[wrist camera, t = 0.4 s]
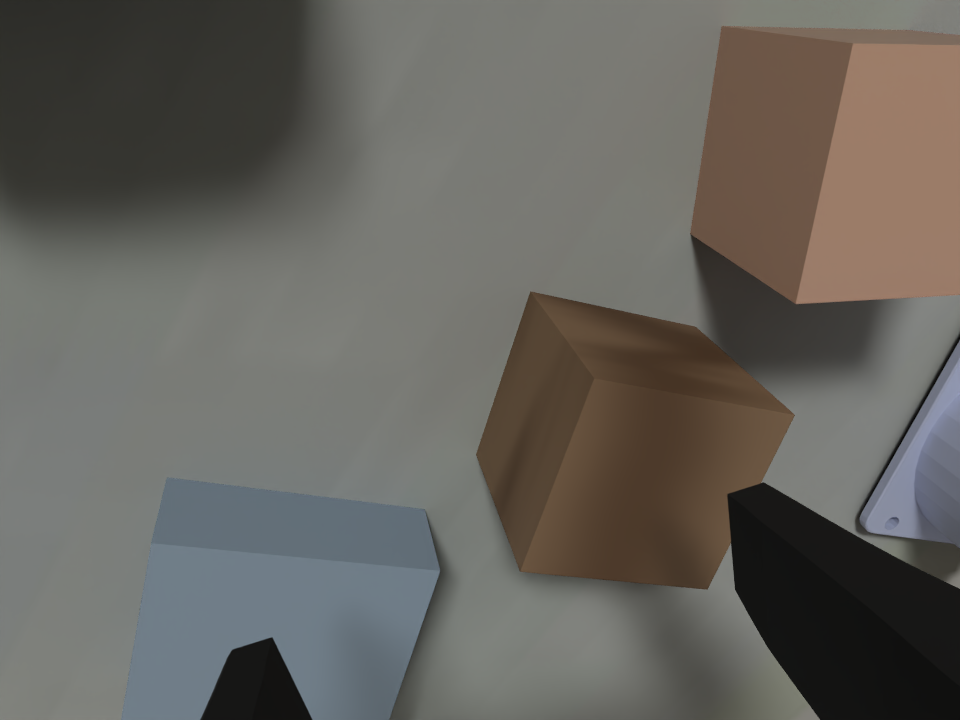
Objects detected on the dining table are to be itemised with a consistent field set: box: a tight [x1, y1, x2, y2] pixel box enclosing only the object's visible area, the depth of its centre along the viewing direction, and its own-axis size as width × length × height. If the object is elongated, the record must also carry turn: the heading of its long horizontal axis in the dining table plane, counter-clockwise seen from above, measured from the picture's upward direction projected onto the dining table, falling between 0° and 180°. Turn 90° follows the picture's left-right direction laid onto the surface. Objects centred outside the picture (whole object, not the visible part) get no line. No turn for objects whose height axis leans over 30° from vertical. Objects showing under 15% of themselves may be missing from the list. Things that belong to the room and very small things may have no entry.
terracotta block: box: [690, 26, 960, 304], centre depth 18 cm, size 5×5×5 cm
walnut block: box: [476, 292, 795, 589], centre depth 20 cm, size 5×5×5 cm
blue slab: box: [121, 478, 440, 720], centre depth 22 cm, size 7×7×3 cm
